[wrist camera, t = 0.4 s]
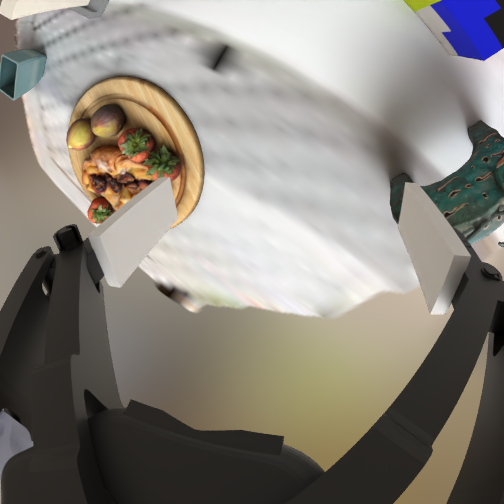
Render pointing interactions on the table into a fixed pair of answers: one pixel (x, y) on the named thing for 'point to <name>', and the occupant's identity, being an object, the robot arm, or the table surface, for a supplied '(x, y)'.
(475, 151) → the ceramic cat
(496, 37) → the puzzle toy
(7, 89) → the flower pot
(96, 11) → the grey chute
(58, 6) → the cream block
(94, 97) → the wooden plate with food
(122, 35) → the table surface
